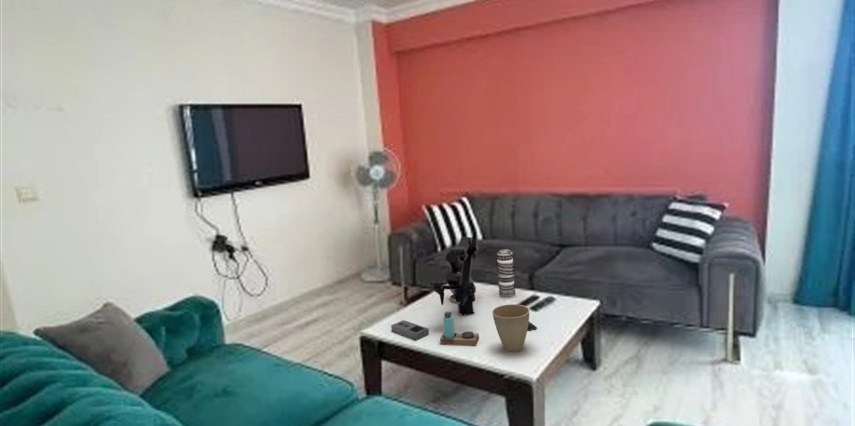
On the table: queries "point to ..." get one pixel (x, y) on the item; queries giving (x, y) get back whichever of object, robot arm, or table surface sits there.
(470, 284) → the robot arm
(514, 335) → the plant pot
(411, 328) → the port block
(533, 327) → the phone
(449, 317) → the plug
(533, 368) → the table surface
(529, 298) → the table surface
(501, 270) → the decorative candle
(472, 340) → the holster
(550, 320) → the table surface
